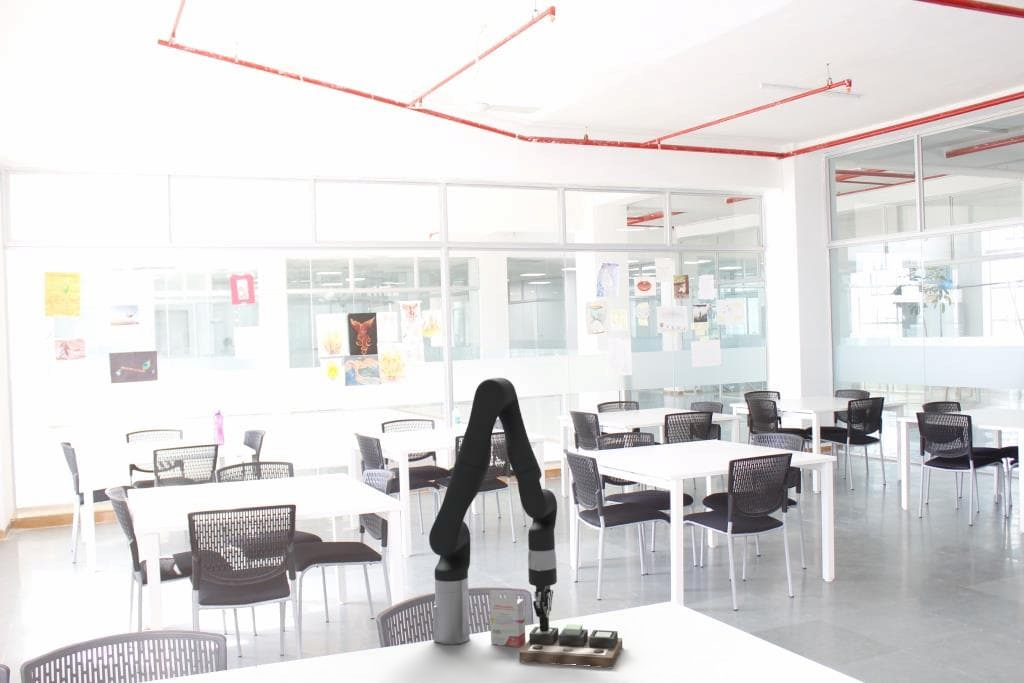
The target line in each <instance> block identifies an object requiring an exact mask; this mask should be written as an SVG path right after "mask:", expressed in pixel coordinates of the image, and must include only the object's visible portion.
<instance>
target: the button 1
mask: <svg viewBox="0 0 1024 683" xmlns="http://www.w3.org/2000/svg"><path fill="white" fill-rule="evenodd" d="M552 632H553V629H549V630H548V631H547V632H545V631H540V628H538V629H537V630H536V632H535V633H540V634H551V633H552Z"/></svg>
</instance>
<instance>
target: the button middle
mask: <svg viewBox="0 0 1024 683" xmlns="http://www.w3.org/2000/svg"><path fill="white" fill-rule="evenodd" d="M563 629H564V635H575V636H581V634H582V629H583V624H571V623H570V624H569V623H568V624H566V626H565V627H564V628H563Z"/></svg>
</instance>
